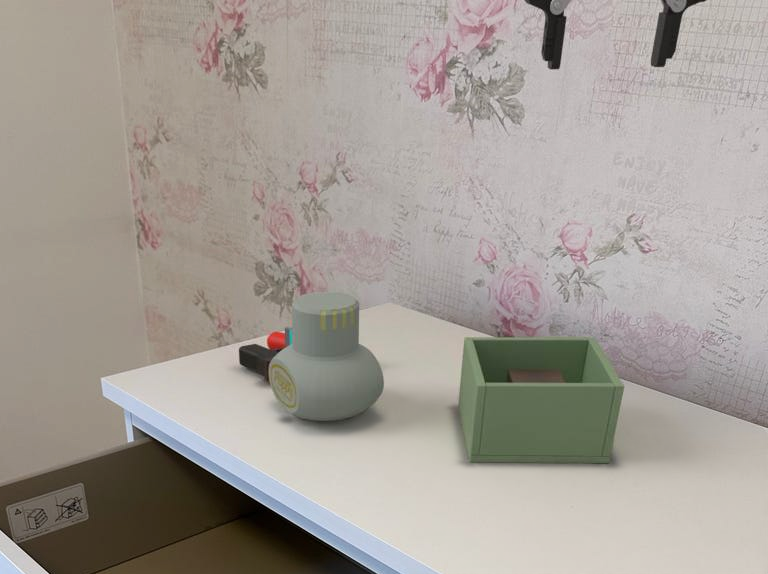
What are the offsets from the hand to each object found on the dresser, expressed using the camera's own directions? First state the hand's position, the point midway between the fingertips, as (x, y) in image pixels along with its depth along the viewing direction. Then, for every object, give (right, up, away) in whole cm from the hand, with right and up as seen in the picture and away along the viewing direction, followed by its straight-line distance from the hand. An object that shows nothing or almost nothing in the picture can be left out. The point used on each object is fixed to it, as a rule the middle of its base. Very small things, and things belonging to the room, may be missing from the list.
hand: (604, 67), depth 79 cm
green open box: (-5, -30, +4) cm, 31 cm away
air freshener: (-23, -27, +9) cm, 36 cm away
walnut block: (-5, -29, +3) cm, 30 cm away
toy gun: (-25, -19, +19) cm, 37 cm away
